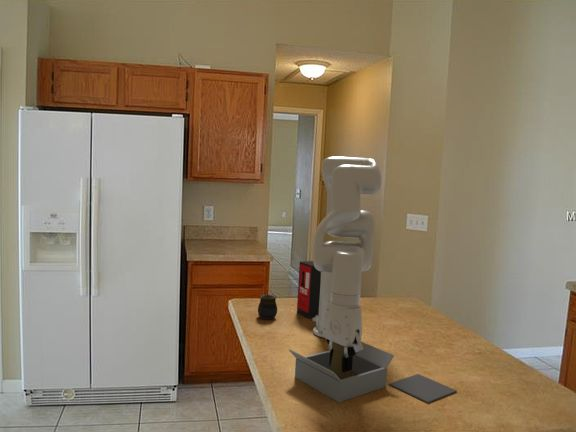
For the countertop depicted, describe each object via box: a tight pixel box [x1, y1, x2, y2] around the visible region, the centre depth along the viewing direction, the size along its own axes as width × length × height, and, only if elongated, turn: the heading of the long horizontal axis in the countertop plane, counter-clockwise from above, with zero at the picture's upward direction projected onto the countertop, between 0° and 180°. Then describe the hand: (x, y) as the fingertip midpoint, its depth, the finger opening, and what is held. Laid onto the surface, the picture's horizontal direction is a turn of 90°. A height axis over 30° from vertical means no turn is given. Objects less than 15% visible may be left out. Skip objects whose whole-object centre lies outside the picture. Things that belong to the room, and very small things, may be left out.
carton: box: [288, 341, 395, 403], centre depth 126 cm, size 17×22×8 cm
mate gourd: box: [257, 293, 278, 320], centre depth 179 cm, size 7×8×10 cm
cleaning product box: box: [296, 260, 321, 320], centre depth 188 cm, size 16×9×20 cm, turn 120°
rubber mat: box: [388, 373, 458, 404], centre depth 125 cm, size 12×12×1 cm
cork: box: [329, 342, 352, 380], centre depth 126 cm, size 6×6×11 cm
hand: (340, 367), depth 126 cm, fingers closed on cork, 3 cm apart
